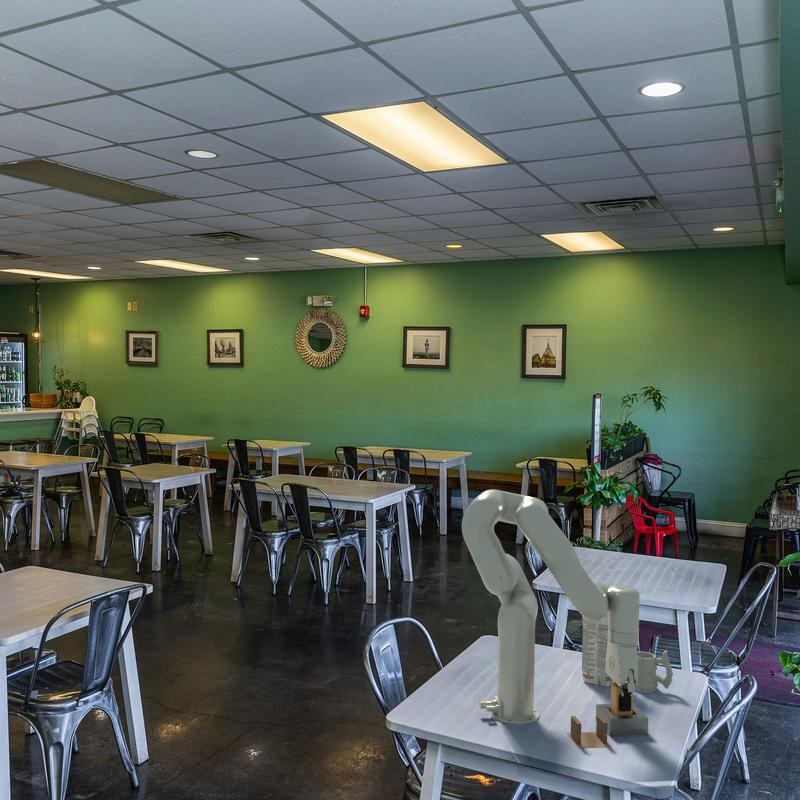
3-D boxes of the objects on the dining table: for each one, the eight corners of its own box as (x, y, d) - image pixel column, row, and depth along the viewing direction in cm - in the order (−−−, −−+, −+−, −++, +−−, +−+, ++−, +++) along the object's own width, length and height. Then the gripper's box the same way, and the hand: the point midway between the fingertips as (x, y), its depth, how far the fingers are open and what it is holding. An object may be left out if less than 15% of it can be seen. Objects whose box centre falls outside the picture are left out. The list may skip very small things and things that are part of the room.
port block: (609, 739, 184) (610, 719, 184) (595, 723, 193) (596, 704, 193) (647, 737, 185) (648, 718, 185) (632, 722, 194) (632, 703, 194)
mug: (631, 681, 222) (631, 641, 222) (673, 688, 218) (673, 647, 218) (628, 691, 215) (629, 649, 215) (671, 698, 211) (672, 656, 211)
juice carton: (618, 680, 223) (619, 601, 223) (611, 689, 216) (612, 607, 216) (587, 674, 228) (588, 596, 227) (579, 682, 221) (581, 602, 221)
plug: (615, 727, 187) (616, 687, 187) (610, 722, 190) (611, 683, 190) (632, 726, 188) (632, 687, 188) (627, 721, 191) (627, 682, 191)
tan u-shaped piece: (578, 751, 177) (578, 727, 177) (566, 736, 185) (567, 713, 185) (611, 750, 178) (612, 726, 178) (598, 735, 186) (599, 712, 186)
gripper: (596, 626, 197) (595, 695, 197) (622, 647, 180) (620, 722, 181) (623, 625, 198) (622, 694, 198) (651, 646, 181) (650, 721, 181)
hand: (621, 707), depth 189 cm, fingers closed on plug, 3 cm apart
